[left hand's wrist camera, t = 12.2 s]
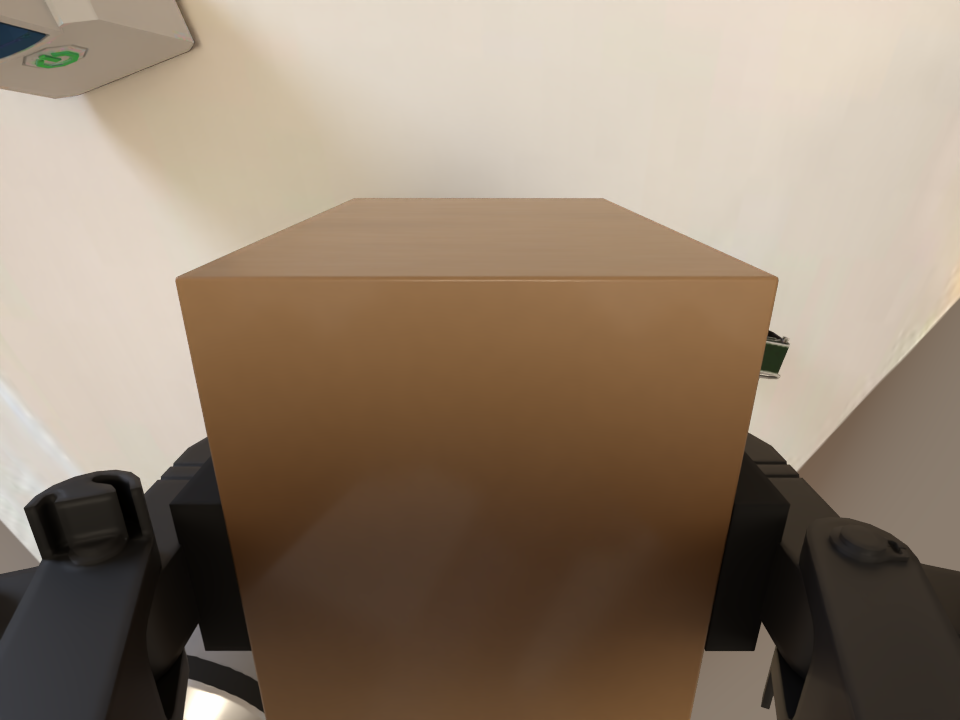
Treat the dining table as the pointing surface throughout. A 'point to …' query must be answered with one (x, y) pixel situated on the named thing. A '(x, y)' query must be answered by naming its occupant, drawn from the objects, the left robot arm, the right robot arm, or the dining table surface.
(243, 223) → the dining table surface
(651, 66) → the dining table surface
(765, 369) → the grenade
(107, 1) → the electronic device
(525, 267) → the block
